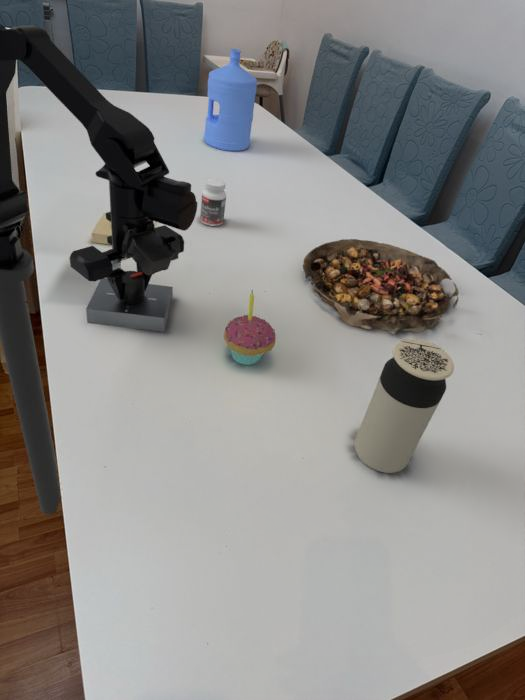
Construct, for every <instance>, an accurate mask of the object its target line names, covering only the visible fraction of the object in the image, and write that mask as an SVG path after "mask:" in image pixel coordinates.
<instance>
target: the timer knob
mask: <svg viewBox="0 0 525 700" xmlns="http://www.w3.org/2000/svg"><path fill="white" fill-rule="evenodd" d="M124 271H125V272H126V274H125V275H124V276H123V277H122V279H123V299H122V300H121V301H122V302H124V303H127V304H136V303H140V302H142V301H143V300H144V297H145V291H144V275H143V273H142V272H137V270H124Z"/></svg>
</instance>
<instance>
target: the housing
mask: <svg viewBox="0 0 525 700" xmlns="http://www.w3.org/2000/svg"><path fill="white" fill-rule="evenodd" d="M106 213H107V212H105V213H102V215H101V217H100V218H99V220H98V222H97V223H96V225H95V227H94V229H93V230H92V232H91V239H92V240H91V241H92V243H94V244H95V243H96V244H101V245H110V244H109V243H107V237H108V236H112V235H111V222H110V221H108V220H107V219H106ZM153 223H154V228H157V227H158V222H156V221H153Z"/></svg>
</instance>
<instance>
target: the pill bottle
mask: <svg viewBox="0 0 525 700" xmlns="http://www.w3.org/2000/svg"><path fill="white" fill-rule="evenodd" d="M204 182H205V183H204V187H205V188H204V189H203V190H202V193H201V203H200V204H201V206H200V222H201V223H203V224H204V225H207V226H210V227H218V226H221V225H223V223H224V220H225V212H226V211H225V210H226V202H227V193H226V191H225V190H226V182H225V181H224V180H223V179H219V178H215V177H214V178H213V177H212V178H207V179H205V181H204Z"/></svg>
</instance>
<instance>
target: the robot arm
mask: <svg viewBox="0 0 525 700" xmlns="http://www.w3.org/2000/svg"><path fill="white" fill-rule="evenodd" d="M17 61H20V62H22V64H23V65H25V67H26V68H27V69H28V70H29V71H30V72H31V73H32V74H33V75H34V76H35V77H36V78H37V79H38V80H39V82H41V83H42V85H44V86H45V87H46V89H48V90H49V91H50V93H51V94H52V95H53V96H54V97H55V98H56V99H57V100H58V101H59V102H60V103H61V104H62V105H63V106H64V107H65V108H66V109H67V110H68V111H69V113H70V114H72V115H73V116H74V117H75V119H76V120H78V121H79V122H80V124H81V125H82V126H83V128H84V129H85V130H86V132H87V135H88V139H89V142H90V145H91V147H92V148H93V149H94V150H95V152H96V153H97V155H98V156H99V157H100V159H101V160H102V162H103V163H104V165H102V167H101V168H99V169H98V170H97V171H95V176H96V177H97V178H100V179H103V180H107V181H108V189H109V190H108V191H109V193H108V194H109V210H110V211H108V212H105V213H106V219H107V220H108V221H110V222H111V235H112V236H108V237H107V243H109V244H108V245H110V246H111V249H110V248H109V249H107V250H106V251H101V250H100V249H98V248H97V247H95V246H94V245H90V246H86V247H83V248H79V249H75V250H73V251H72V252H71V253H70V254H69V264H70V268H72V269H73V270H74V271H75V272H77V273H78V274H79V275H80V276H82V277H83V278H84V279H86V281H88V282H92V283H93V282H94V283H95V282H98V281H100V280H101V279H104V278H106V279H107V280H108V282H109V284H110V286H111V288H112V289H113V291H114V293H115V295H116V296H117V298H118V299H119V300H122V299H123V279H122V277H123V276H124V275H125V274H126V272H125V271H126V270H124V269H123V268H122V265H121V264H122V262H123V261H125V260H128V259H131V258H132V260H133V261H134V262H135V265H136V272H142V273H143V275H144V291H146V288H147V286H148V284H150V281H151V279H152V276H153V275H155V274H156V273H159V272H162V271H167V270H168V269H169V268H170V264H171V263H172V261H175V260H178V259H179V254H180V253H184V251H185V239H184V237H183V236H182V235H181V234H179V233H178V232H176V231H175V230H173V229H172V228H174V229H177V230H179V231H184V232H185V231H187V230H188V229H190V228H191V226H192V225H193V223H194V220H195V219H196V215H197V211H198V201H197V197H196V194H195V193H194V192H193V191H192V184H191V183H190V182H187V181H182V180H176V179H173V178H170V177H166V176H168V175H169V174H170V169H169V167H168V166H167V163H166V162H165V160H164V158H163V156H162V154H161V152H160V151H159V149H158V147H157V145H156V143H155V136H154V134H153V132H152V131H151V130H150V128H149V127H148V126H147V125H146V124H144V123H143V122H142V121H141V120H139V119H138V118H137V117H136V116H135V115H133V114H132V113H130V112H129V111H128V110H127V111H126V110H125V109H122V108H121V107H118V106H117V105H114V104H113V103H111V102H110V101H109V100H108V99H107V98H106V97H105V95H103V94H102V93H101V92H100V90H98V89H97V88H96V86H95V85H94V84H93V83H92V82H91V81H90V80H89V79H88V78H87V77H86V76H85V75H84V74H83V73H82V72H81V71H80V70H79V68H78V67H76V65H74V63H73V62H72V61H71V60H70V59H69V57H67V56H66V55H65V53H63V52H62V50H61V49H59V47H58V46H57V45H56V44H55V43H54V42H53V41H52V39H51V37H50V35H49V34H48V32H47V31H46V30H45V29H44V28H42V27H40V26H38V25H35V24H33V25H31V24H30V25H18V26H12V27H10V28H6V27H5V25H4V24H2V23H0V269H6V270H12V269H13V268H14V267H15V265H16V264H17V263H18V262H19V260H20V259H21V258H22V257H23V255H24V252H22V249H23V248H22V243H21V239H20V237H19V236H18V235H17V231H16V229H17V228H20V227H22V225H23V220H24V219H25V218H26V214H27V213H29V207H28V200H27V199H28V194H27V192H26V191H25V190H21V189H20V188H19V186H18V185H17V184H16V183H15V181H14V180H13V172H12V171H13V170H12V158H11V157H12V156H11V144H10V142H11V141H10V130H9V129H10V128H9V117H8V114H9V113H8V100H7V92H8V90H9V87H10V85H11V83H12V81H13V79H14V77H15V75H16V68H17ZM146 163H147V165H148V166H147V167H145V168H143V169H141V170H139V171H138V170H136V168H137V167H139V166H142V165H144V164H146ZM153 221H156V222H157V223H158V224H162V225H160V226H157V228H154V223H153ZM21 248H22V249H21Z"/></svg>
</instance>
